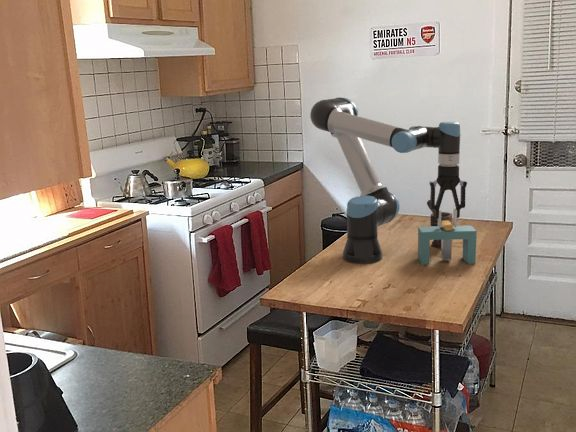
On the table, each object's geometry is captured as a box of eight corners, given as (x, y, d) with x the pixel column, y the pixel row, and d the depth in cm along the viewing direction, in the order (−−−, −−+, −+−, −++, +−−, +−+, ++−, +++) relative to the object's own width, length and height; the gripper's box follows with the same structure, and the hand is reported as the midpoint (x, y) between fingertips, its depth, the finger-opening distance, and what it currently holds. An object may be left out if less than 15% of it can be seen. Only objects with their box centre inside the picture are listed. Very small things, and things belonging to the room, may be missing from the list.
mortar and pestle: (443, 251, 262) (444, 202, 257) (423, 248, 267) (424, 200, 262) (454, 244, 271) (456, 196, 266) (435, 241, 276) (436, 194, 271)
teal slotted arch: (421, 264, 247) (421, 232, 244) (417, 258, 255) (418, 226, 252) (475, 263, 246) (476, 231, 243) (470, 257, 254) (471, 225, 251)
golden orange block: (443, 261, 247) (444, 225, 244) (440, 256, 254) (440, 220, 250) (452, 261, 247) (453, 225, 244) (448, 256, 253) (449, 220, 250)
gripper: (425, 167, 238) (424, 229, 244) (476, 165, 238) (473, 228, 243) (421, 163, 246) (420, 224, 251) (471, 162, 245) (469, 223, 251)
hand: (447, 226), depth 247 cm, fingers open, 5 cm apart
